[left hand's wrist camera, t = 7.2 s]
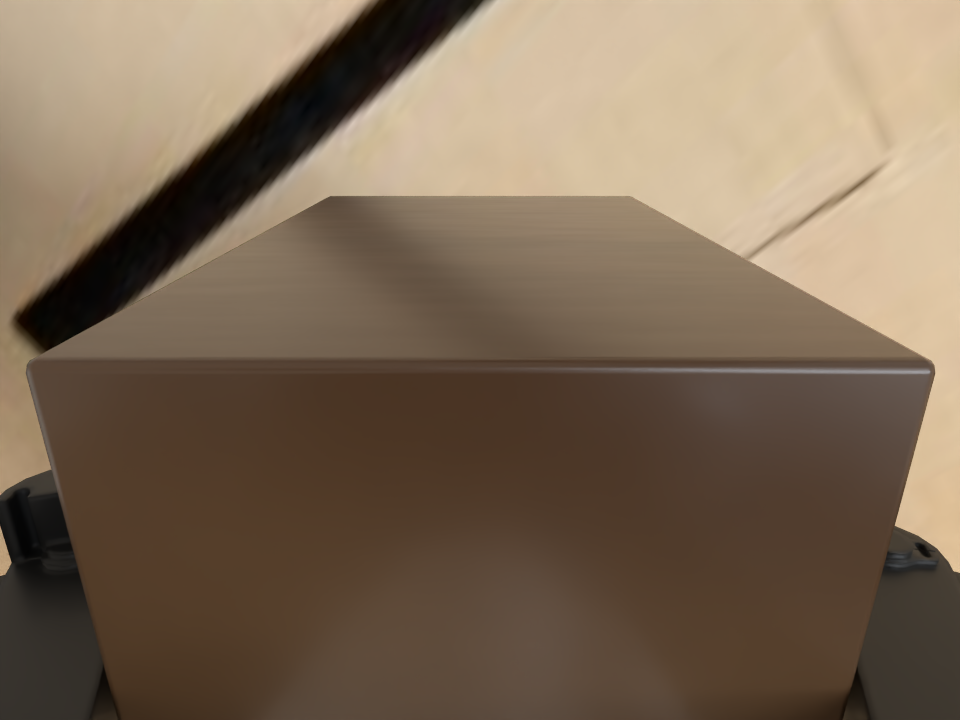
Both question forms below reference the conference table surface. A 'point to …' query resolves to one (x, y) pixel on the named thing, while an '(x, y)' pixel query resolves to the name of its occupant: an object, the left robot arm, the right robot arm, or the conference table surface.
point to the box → (480, 472)
